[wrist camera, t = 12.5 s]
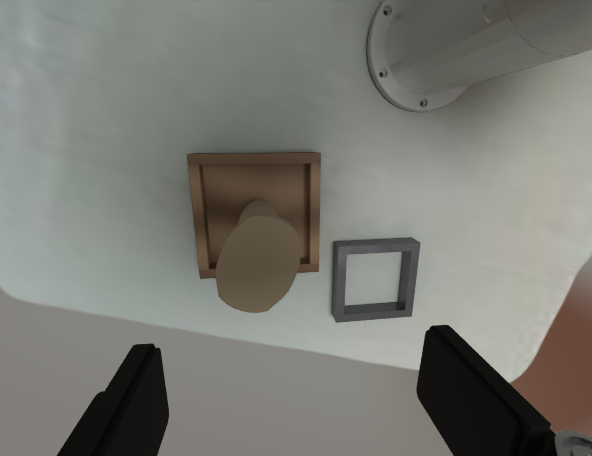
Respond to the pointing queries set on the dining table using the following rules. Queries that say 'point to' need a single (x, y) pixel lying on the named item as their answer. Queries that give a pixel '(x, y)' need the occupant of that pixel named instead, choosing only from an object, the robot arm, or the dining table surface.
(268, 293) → the handle
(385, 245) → the collar
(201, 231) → the tray
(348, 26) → the dining table surface
